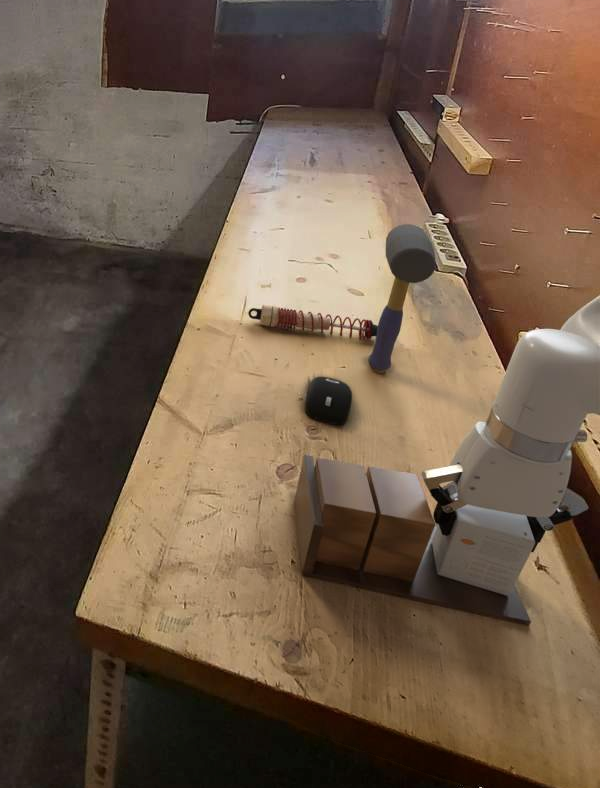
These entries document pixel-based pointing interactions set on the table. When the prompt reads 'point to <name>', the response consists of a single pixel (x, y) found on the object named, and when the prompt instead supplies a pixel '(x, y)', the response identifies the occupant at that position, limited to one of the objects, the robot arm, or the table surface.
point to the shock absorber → (309, 321)
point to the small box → (484, 548)
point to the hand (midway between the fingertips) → (482, 533)
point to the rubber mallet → (401, 286)
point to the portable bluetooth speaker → (328, 400)
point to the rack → (381, 538)
